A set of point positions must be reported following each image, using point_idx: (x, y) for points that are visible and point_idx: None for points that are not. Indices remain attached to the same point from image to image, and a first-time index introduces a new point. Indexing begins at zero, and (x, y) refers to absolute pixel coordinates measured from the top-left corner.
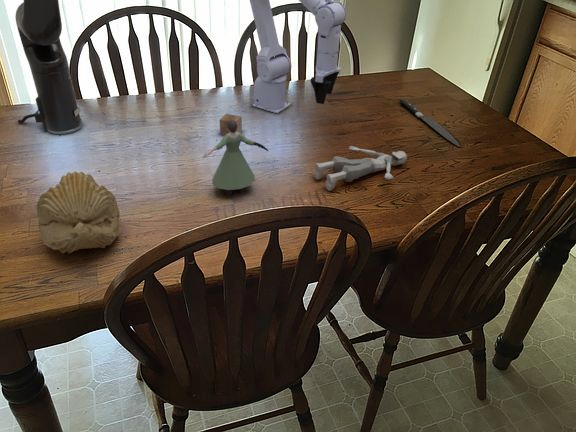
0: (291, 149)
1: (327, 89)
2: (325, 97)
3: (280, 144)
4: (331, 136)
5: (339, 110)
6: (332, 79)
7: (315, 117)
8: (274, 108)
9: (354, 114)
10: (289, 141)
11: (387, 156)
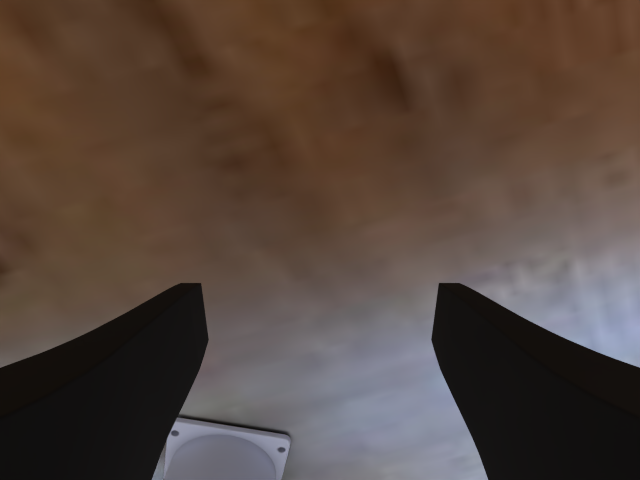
0: (634, 281)
1: (586, 362)
2: (487, 306)
3: (589, 337)
4: (440, 131)
5: (72, 181)
6: (112, 392)
7: (240, 279)
8: (268, 462)
9: (66, 70)
10: (551, 312)
11: None
